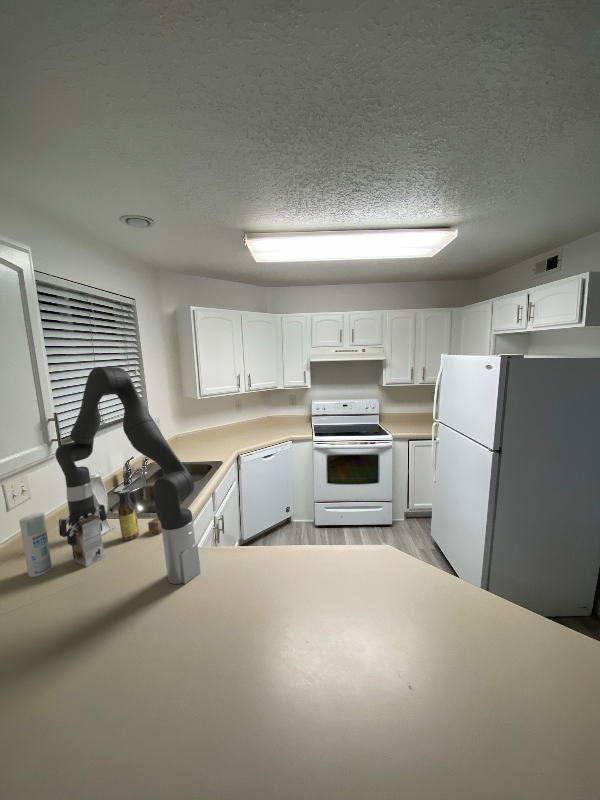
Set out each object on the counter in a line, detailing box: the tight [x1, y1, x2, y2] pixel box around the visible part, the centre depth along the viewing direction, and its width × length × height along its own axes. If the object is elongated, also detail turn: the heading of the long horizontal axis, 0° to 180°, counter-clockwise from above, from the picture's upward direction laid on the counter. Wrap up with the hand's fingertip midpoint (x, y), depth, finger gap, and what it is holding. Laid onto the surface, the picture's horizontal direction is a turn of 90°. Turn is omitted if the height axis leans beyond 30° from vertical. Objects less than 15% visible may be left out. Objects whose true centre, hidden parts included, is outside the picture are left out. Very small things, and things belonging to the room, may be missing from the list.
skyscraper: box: [89, 469, 114, 536], centre depth 129 cm, size 8×8×28 cm
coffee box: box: [67, 515, 105, 568], centre depth 108 cm, size 9×6×16 cm
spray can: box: [19, 512, 52, 578], centre depth 103 cm, size 6×6×20 cm
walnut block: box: [147, 516, 162, 535], centre depth 126 cm, size 5×5×5 cm
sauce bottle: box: [117, 489, 140, 542], centre depth 122 cm, size 7×6×20 cm
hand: (86, 539), depth 108 cm, fingers open, 8 cm apart
